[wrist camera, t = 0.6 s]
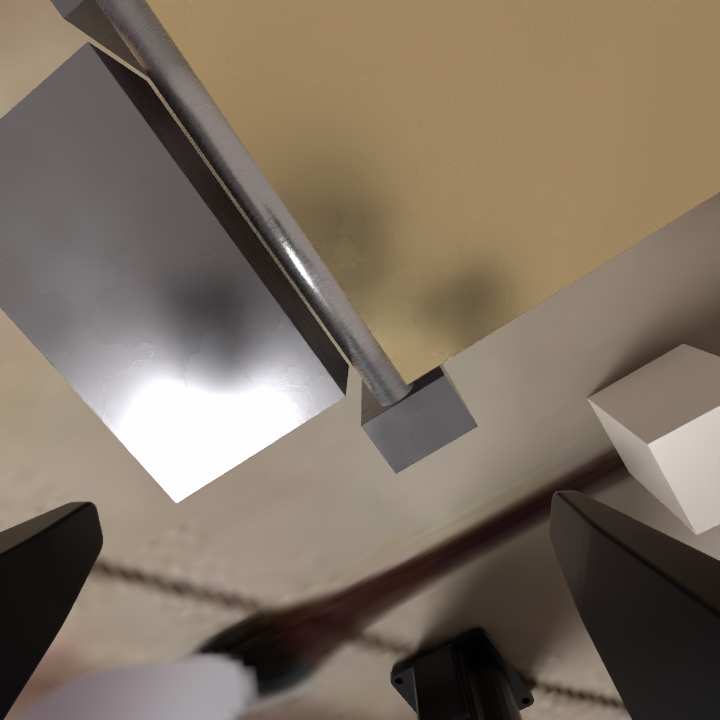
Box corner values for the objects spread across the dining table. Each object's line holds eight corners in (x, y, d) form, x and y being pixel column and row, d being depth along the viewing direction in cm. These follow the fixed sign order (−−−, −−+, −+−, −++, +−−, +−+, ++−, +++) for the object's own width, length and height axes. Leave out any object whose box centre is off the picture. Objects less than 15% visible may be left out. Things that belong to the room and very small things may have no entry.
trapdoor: (743, 159, 13) (842, 142, 10) (229, 481, 16) (202, 531, 13) (545, -336, 10) (610, -538, 7) (-34, 171, 13) (-134, 158, 11)
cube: (720, 423, 23) (817, 476, 18) (628, 472, 23) (697, 535, 19) (682, 343, 21) (774, 376, 17) (586, 397, 22) (647, 444, 17)
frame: (437, 355, 22) (477, 426, 14) (384, 388, 22) (396, 473, 14) (212, 8, 18) (97, -158, 10) (155, 58, 18) (2, -65, 10)
